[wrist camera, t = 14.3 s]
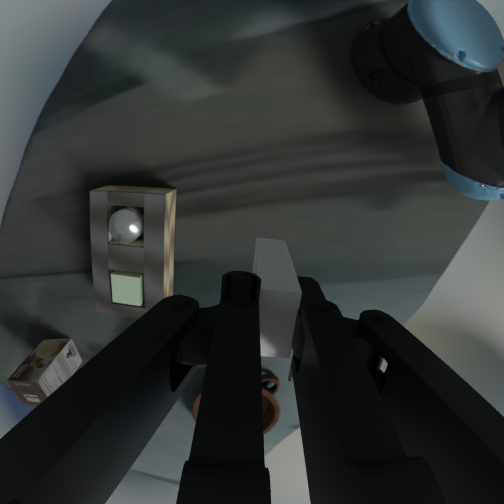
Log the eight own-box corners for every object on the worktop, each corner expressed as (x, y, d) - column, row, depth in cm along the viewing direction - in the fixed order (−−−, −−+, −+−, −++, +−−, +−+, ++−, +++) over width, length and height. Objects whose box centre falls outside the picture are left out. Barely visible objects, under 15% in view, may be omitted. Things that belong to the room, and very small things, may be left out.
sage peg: (126, 259, 53) (110, 274, 47) (152, 262, 53) (139, 277, 47) (127, 284, 55) (112, 301, 48) (152, 288, 55) (140, 306, 48)
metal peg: (125, 201, 50) (108, 209, 44) (154, 203, 50) (139, 211, 44) (125, 230, 52) (108, 242, 45) (153, 233, 52) (139, 245, 45)
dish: (174, 404, 64) (169, 419, 59) (238, 345, 59) (237, 361, 54) (235, 439, 67) (234, 454, 63) (303, 389, 62) (306, 405, 58)
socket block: (108, 185, 50) (89, 190, 43) (176, 188, 50) (164, 194, 43) (111, 294, 56) (96, 311, 49) (172, 302, 56) (163, 322, 49)
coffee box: (54, 362, 62) (21, 404, 46) (43, 339, 60) (5, 379, 44) (83, 361, 61) (51, 408, 46) (72, 336, 59) (35, 381, 44)
